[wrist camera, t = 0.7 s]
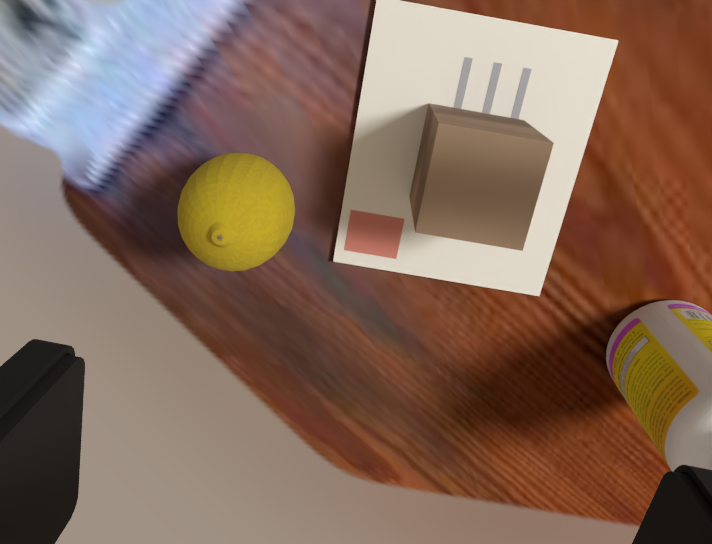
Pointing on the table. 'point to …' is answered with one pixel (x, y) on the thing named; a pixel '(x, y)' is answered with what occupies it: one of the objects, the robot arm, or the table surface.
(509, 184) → the walnut block
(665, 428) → the supplement bottle
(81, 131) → the table surface
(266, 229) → the lemon
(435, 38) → the letter
